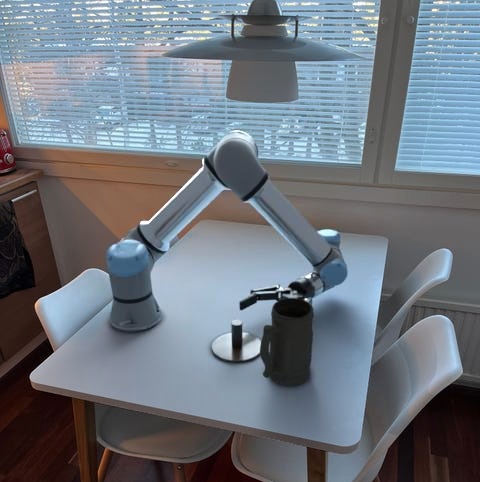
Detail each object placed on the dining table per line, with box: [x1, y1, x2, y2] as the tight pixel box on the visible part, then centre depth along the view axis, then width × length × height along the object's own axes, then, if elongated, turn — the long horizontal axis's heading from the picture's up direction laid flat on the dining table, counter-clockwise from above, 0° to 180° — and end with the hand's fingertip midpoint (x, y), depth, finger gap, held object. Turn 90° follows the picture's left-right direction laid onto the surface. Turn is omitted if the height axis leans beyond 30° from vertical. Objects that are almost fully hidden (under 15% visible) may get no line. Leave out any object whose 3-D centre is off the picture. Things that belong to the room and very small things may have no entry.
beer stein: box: [259, 298, 315, 387], centre depth 115 cm, size 15×11×20 cm
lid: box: [211, 319, 262, 364], centre depth 129 cm, size 14×14×8 cm
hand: (257, 314), depth 132 cm, fingers open, 13 cm apart
